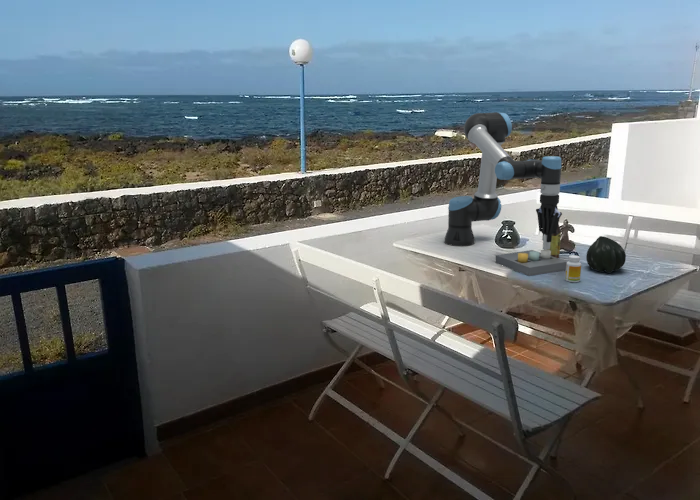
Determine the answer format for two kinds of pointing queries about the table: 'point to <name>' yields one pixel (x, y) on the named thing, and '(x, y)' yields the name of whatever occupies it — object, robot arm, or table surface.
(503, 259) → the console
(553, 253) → the sauce bottle
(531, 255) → the teal button
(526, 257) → the amber button
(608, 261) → the squash
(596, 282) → the table surface
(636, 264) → the table surface
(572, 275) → the supplement bottle
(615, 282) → the table surface
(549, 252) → the ivory button
